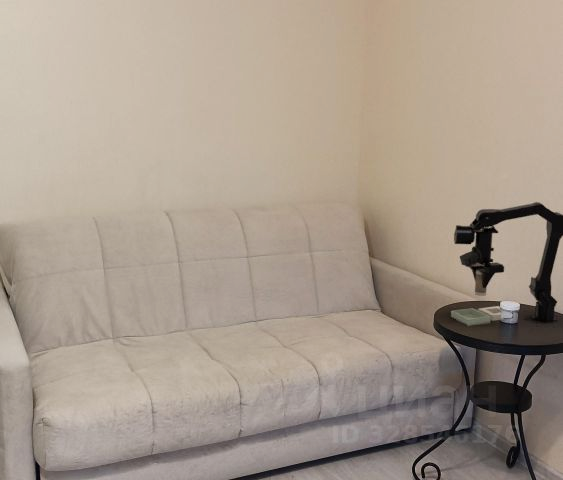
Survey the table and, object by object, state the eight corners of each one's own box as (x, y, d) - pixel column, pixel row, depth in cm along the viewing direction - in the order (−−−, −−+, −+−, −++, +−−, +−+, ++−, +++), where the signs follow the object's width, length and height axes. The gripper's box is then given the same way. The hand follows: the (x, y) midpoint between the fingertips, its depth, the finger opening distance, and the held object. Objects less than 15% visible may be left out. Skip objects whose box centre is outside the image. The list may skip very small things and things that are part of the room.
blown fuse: (488, 295, 250) (490, 271, 248) (478, 296, 249) (480, 272, 247) (481, 292, 254) (483, 268, 252) (472, 293, 253) (473, 269, 251)
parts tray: (490, 323, 247) (490, 316, 247) (468, 326, 244) (468, 319, 244) (472, 314, 258) (472, 308, 257) (451, 317, 255) (451, 310, 254)
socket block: (513, 317, 253) (513, 312, 252) (492, 320, 250) (492, 315, 250) (498, 311, 261) (498, 306, 261) (477, 313, 258) (478, 308, 258)
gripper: (450, 241, 254) (447, 281, 257) (479, 251, 236) (476, 294, 240) (476, 239, 257) (473, 279, 260) (506, 249, 240) (503, 292, 243)
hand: (480, 286), depth 251 cm, fingers closed on blown fuse, 4 cm apart
